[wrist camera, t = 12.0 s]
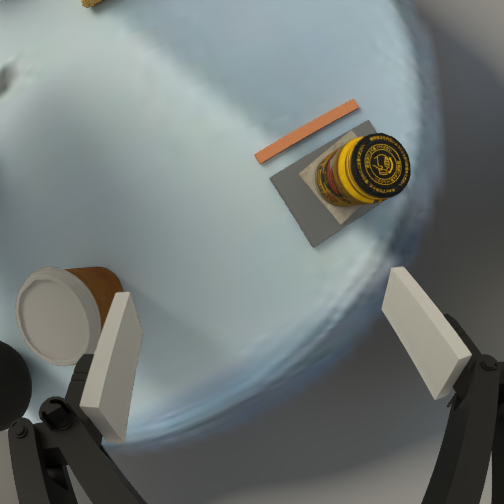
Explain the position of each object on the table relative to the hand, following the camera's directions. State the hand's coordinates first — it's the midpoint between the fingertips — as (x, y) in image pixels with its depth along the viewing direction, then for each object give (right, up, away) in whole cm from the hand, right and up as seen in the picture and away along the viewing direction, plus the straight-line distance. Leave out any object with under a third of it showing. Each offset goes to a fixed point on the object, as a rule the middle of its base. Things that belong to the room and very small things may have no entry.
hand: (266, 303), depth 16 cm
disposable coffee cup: (-19, -2, +20) cm, 28 cm away
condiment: (+10, +11, +19) cm, 24 cm away
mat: (+10, +11, +20) cm, 24 cm away
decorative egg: (-36, -15, +21) cm, 44 cm away
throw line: (+6, +16, +19) cm, 26 cm away
